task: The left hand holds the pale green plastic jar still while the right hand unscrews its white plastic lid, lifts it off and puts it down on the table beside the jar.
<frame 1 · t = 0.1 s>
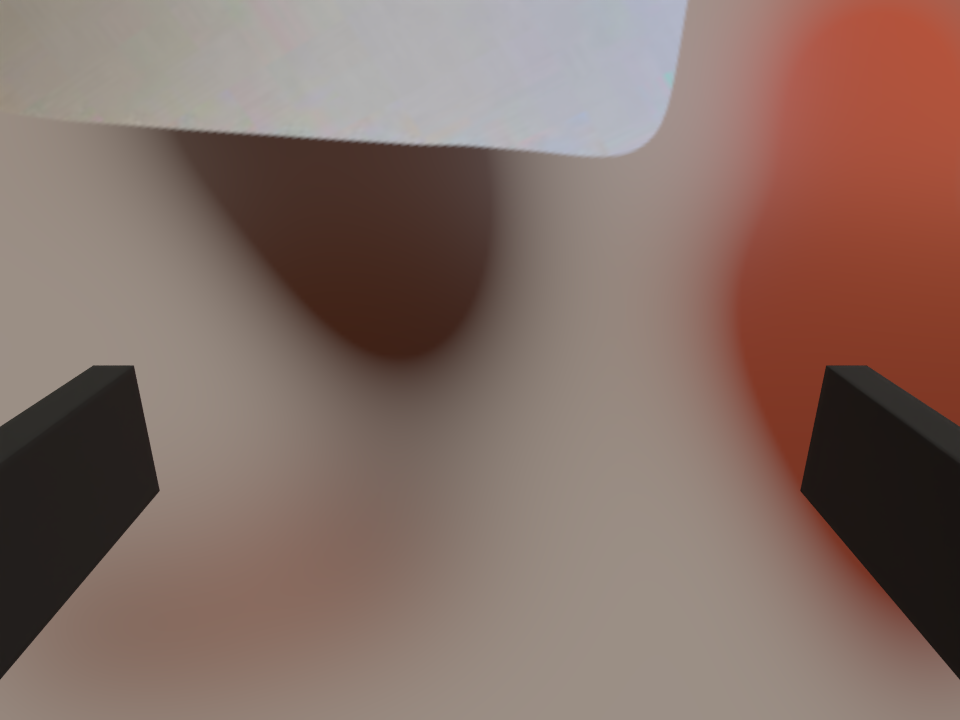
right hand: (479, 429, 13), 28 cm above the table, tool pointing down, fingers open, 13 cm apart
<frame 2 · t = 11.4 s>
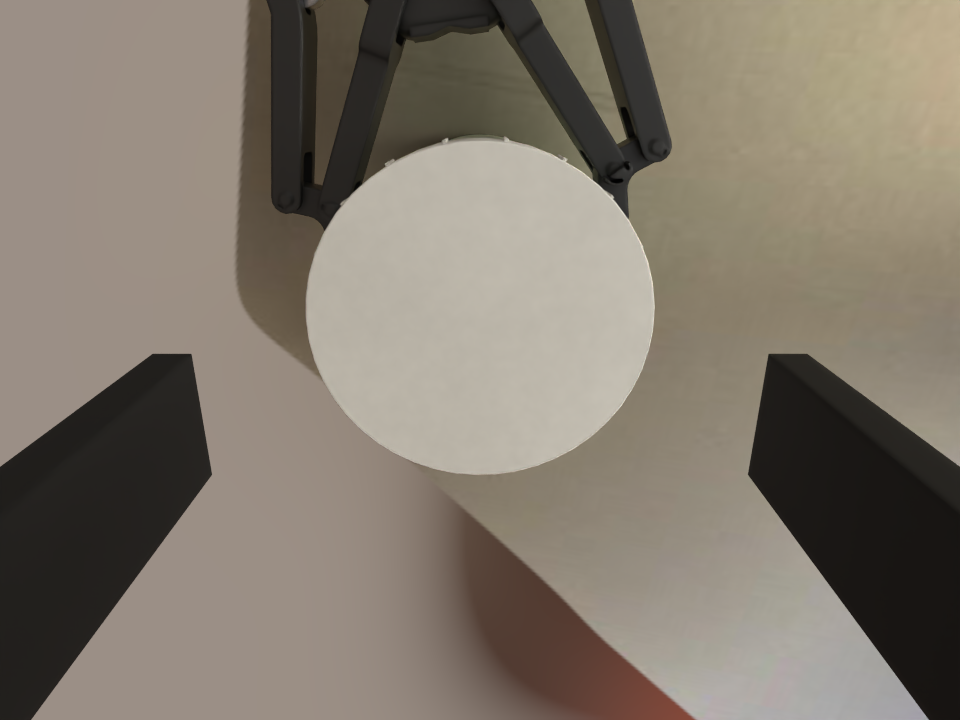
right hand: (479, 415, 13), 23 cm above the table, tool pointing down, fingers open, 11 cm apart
lid: (479, 320, 19), point 17 cm above the table, screwed on, not yet turned
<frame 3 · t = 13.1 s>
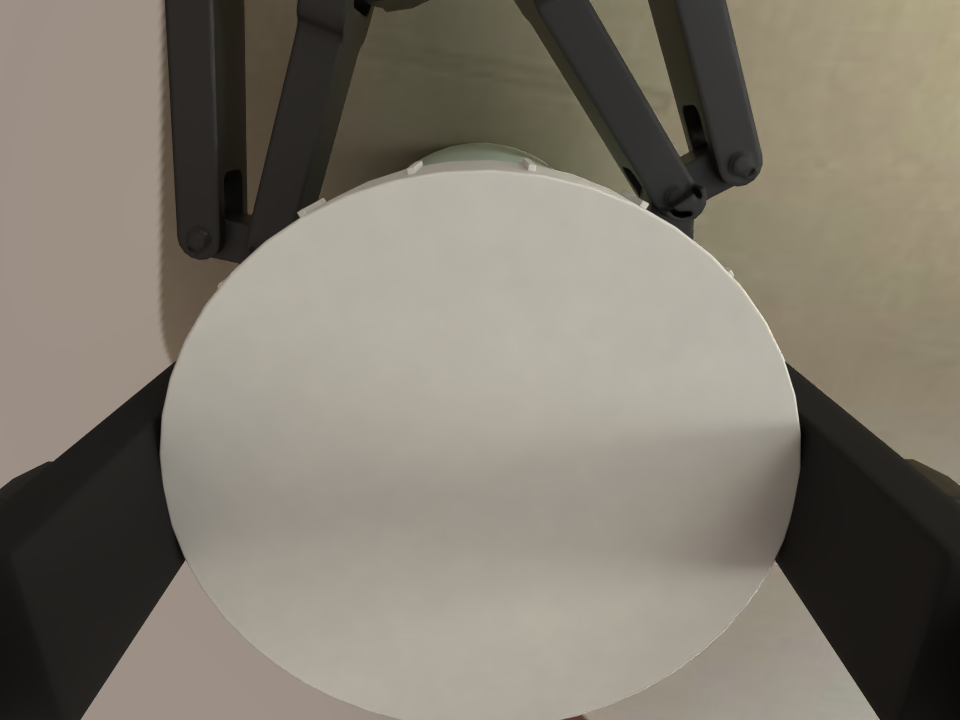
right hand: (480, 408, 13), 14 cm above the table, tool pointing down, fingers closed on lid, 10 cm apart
lid: (480, 487, 11), point 17 cm above the table, screwed on, not yet turned, touching right hand
jar: (480, 262, 26), on the table, touching left hand
when the right hand's fingers open (14 cm above the table, at t = 14.8 s): lid stays where it is, point 17 cm above the table.
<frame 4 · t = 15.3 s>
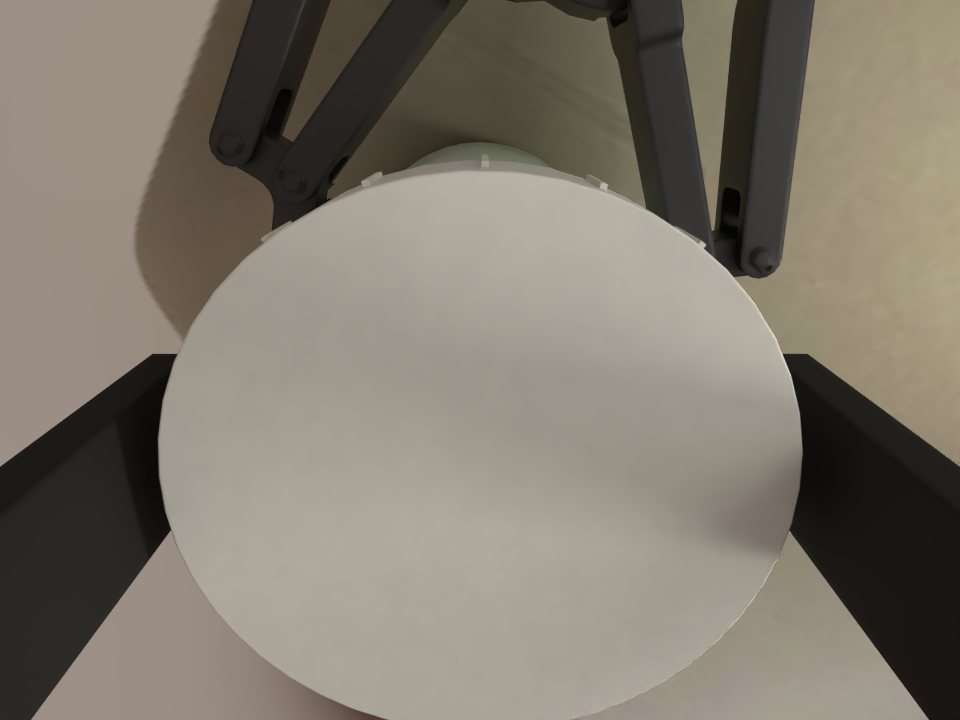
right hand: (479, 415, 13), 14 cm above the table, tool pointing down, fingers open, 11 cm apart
lid: (480, 488, 11), point 17 cm above the table, turned 84° so far, risen 0.2 cm, still on its thread
jar: (480, 261, 27), on the table, touching left hand
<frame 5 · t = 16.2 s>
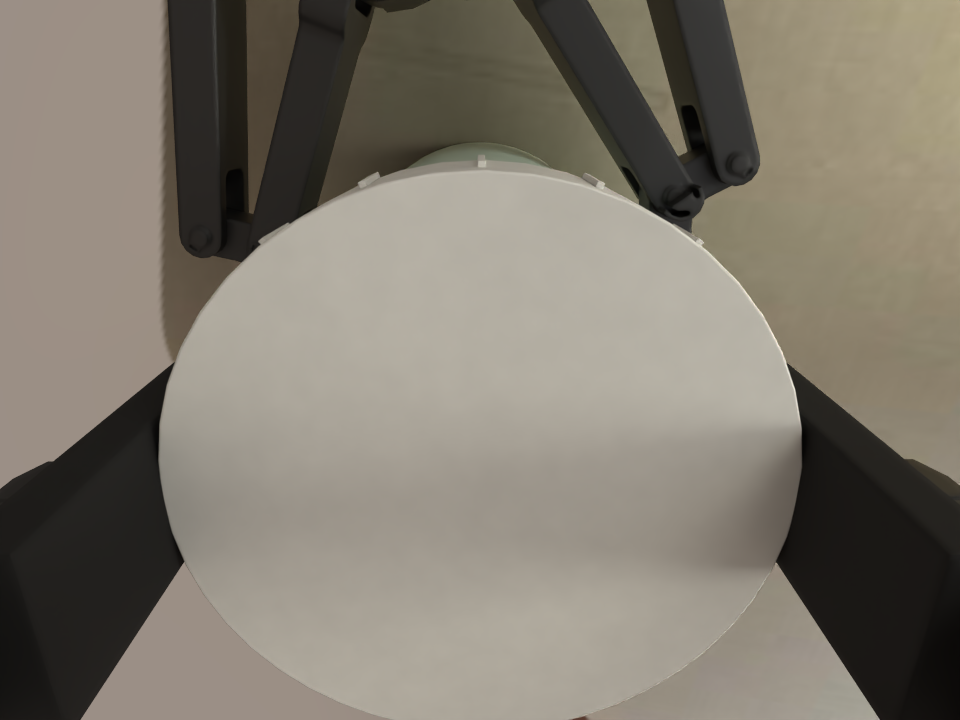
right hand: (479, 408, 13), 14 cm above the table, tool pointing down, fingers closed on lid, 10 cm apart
lid: (480, 488, 11), point 17 cm above the table, turned 84° so far, risen 0.2 cm, still on its thread, touching right hand
jar: (480, 261, 27), on the table, touching left hand
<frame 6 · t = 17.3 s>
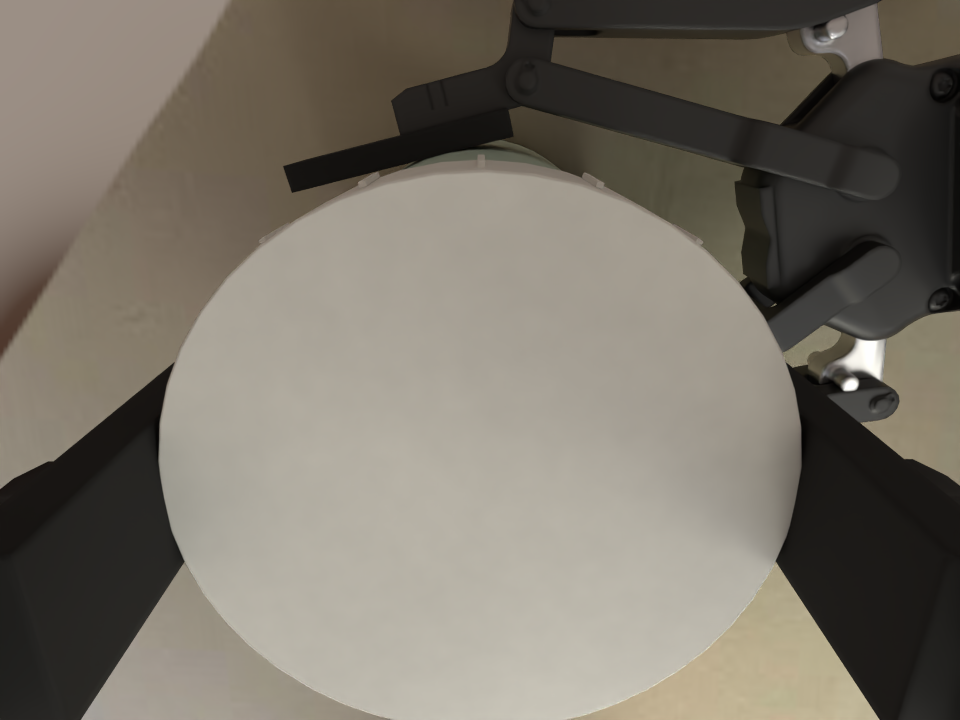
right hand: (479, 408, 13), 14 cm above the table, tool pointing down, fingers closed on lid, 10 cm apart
left hand: (350, 328, 21), fingers closed on jar, 9 cm apart
lid: (480, 488, 11), point 17 cm above the table, off its thread, touching right hand
jar: (481, 257, 27), on the table, touching left hand
when the right hand's fingers open (0 cm above the table, at t = 23.2 s): lid drops 2 cm, point 2 cm above the table.
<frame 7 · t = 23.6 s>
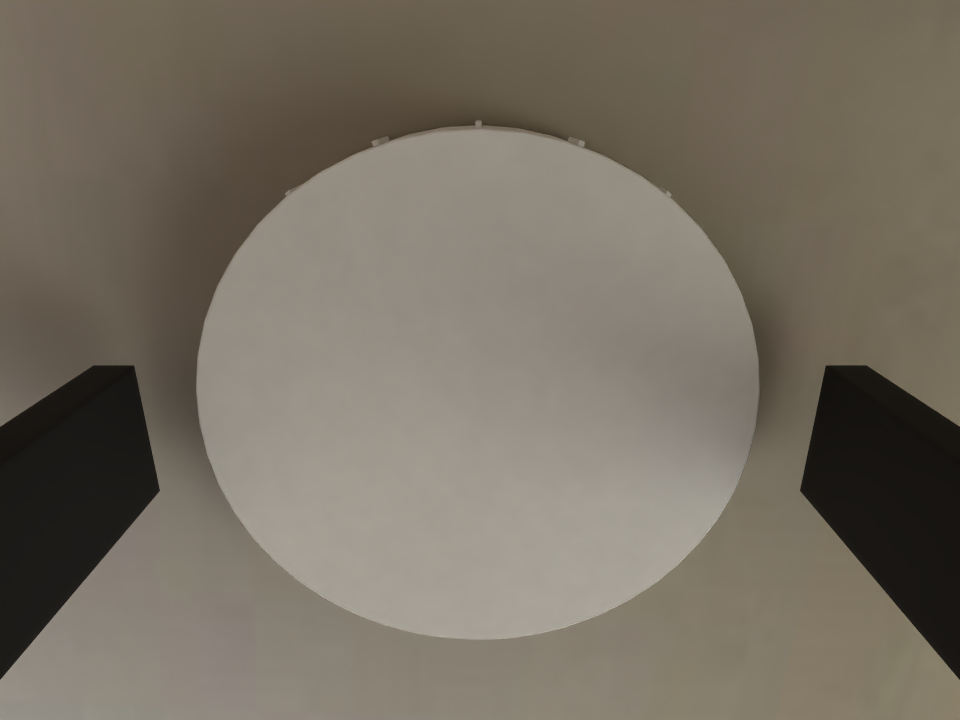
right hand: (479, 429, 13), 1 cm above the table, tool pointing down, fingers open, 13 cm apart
lid: (478, 416, 12), point 2 cm above the table, off its thread
when the left hand's fingers open (6 cm above the table, at t = 24.2 s): jar stays where it is, on the table.
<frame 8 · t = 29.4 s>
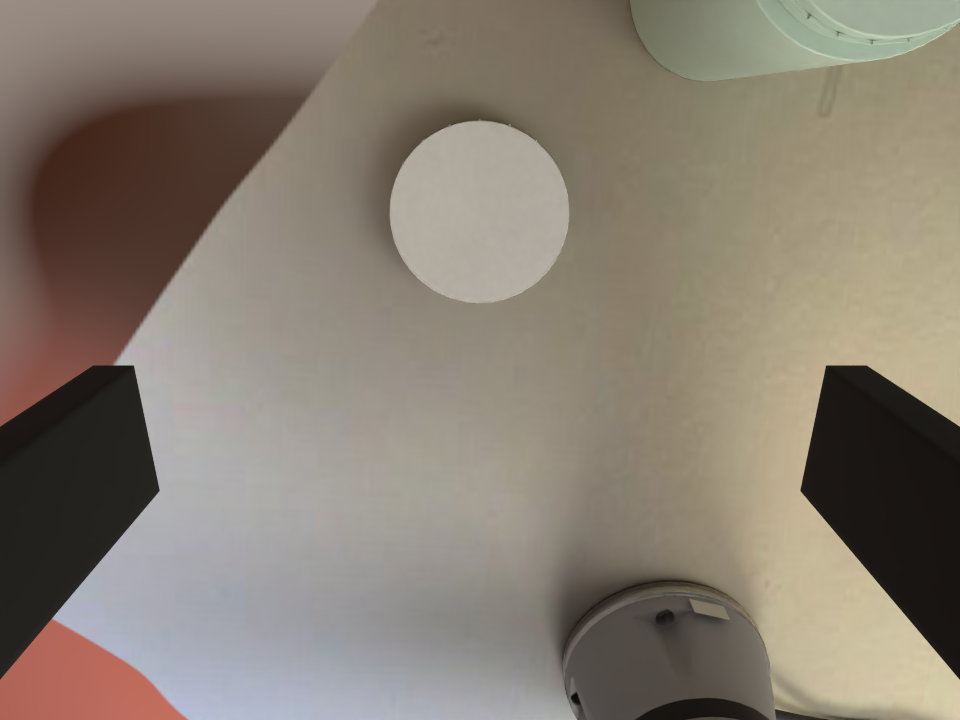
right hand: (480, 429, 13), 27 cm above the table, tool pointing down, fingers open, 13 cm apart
lid: (479, 215, 37), point 2 cm above the table, off its thread
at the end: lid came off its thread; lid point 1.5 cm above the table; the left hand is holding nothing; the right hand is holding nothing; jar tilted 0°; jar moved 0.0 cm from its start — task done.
